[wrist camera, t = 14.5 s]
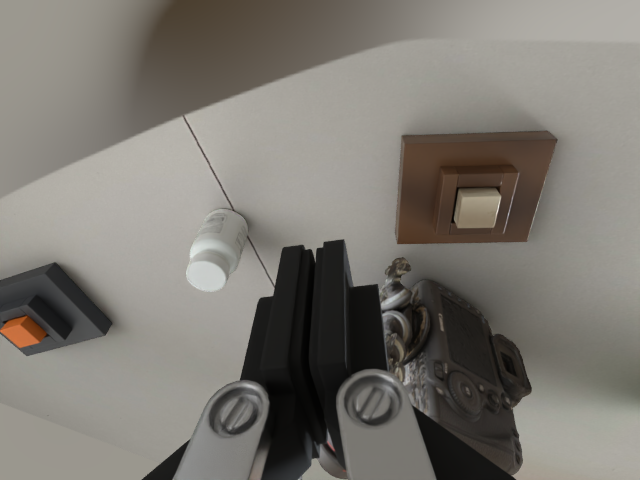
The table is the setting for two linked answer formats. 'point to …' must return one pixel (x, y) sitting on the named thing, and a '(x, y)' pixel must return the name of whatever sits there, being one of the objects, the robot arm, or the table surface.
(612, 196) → the table surface
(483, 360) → the camera
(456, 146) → the brown light switch
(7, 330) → the key far
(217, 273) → the pill bottle
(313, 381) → the robot arm
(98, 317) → the dark grey flat block
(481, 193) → the key near
